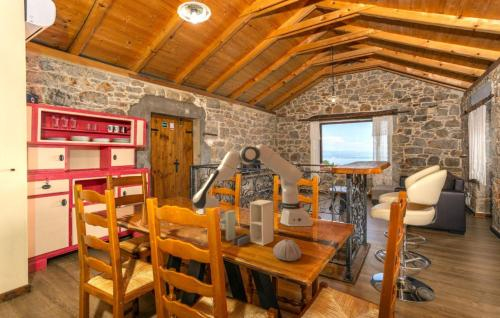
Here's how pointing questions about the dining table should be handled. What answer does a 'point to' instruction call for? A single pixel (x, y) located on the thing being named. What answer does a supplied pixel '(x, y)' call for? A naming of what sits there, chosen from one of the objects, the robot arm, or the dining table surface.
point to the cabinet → (259, 224)
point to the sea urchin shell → (287, 250)
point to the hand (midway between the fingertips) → (231, 224)
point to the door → (230, 224)
